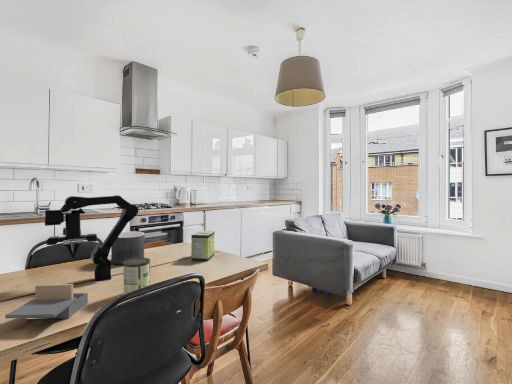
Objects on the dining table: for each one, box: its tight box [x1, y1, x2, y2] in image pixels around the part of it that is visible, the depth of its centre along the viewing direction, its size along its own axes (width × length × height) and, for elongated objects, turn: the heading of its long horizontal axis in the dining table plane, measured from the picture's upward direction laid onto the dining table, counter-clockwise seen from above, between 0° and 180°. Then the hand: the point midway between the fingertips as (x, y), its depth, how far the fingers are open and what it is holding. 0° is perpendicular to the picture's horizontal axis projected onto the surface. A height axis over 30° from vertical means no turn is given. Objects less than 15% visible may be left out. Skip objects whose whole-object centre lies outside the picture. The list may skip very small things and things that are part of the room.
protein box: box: [190, 230, 215, 262], centre depth 173 cm, size 10×16×16 cm
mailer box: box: [41, 292, 89, 319], centre depth 100 cm, size 12×14×4 cm
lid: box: [4, 283, 77, 319], centre depth 92 cm, size 12×14×6 cm
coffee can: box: [123, 257, 151, 295], centre depth 115 cm, size 10×10×14 cm
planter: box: [110, 230, 146, 266], centre depth 163 cm, size 18×18×16 cm
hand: (73, 257), depth 126 cm, fingers closed
